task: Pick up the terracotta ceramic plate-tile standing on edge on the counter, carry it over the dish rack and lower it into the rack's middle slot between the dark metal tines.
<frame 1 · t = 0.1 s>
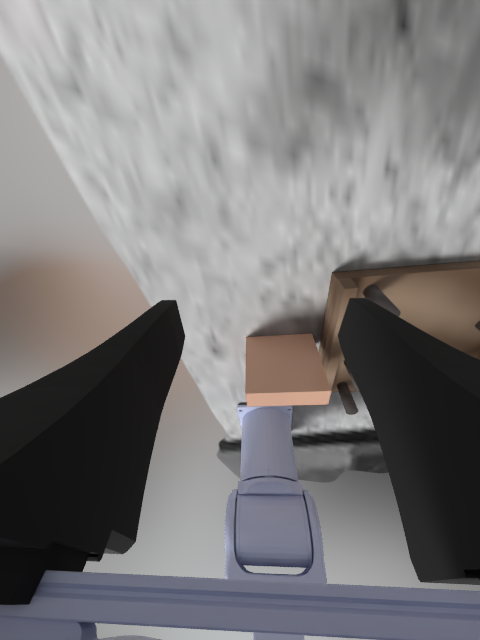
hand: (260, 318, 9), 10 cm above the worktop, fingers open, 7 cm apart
plate: (278, 341, 24), on the worktop
rack: (403, 335, 23), on the worktop
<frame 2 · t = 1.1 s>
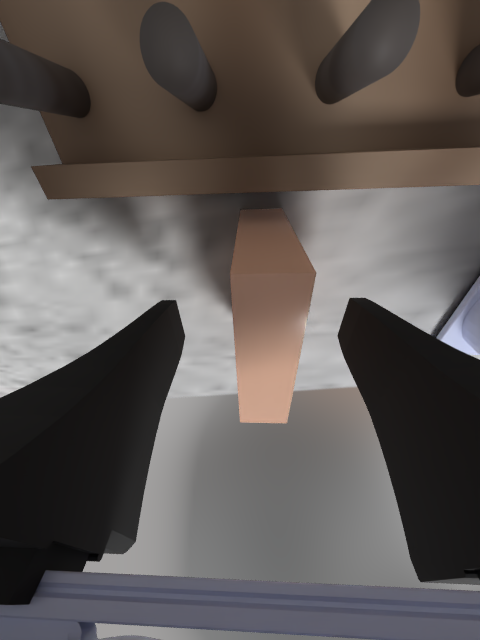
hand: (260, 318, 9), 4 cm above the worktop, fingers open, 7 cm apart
plate: (259, 274, 13), on the worktop
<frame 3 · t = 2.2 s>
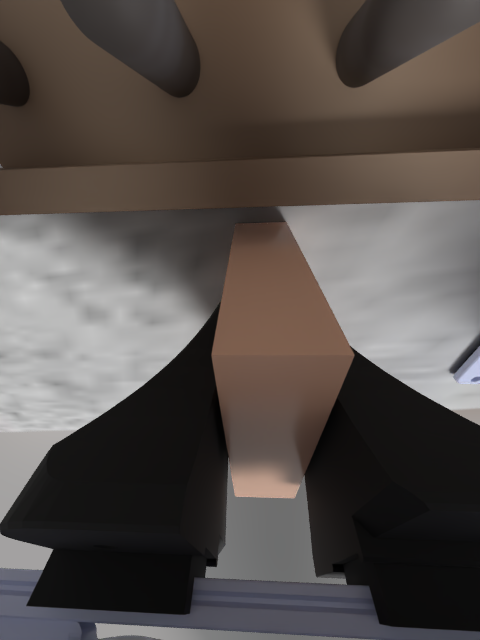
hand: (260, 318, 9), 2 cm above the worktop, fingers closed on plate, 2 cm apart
plate: (259, 298, 11), on the worktop, touching gripper
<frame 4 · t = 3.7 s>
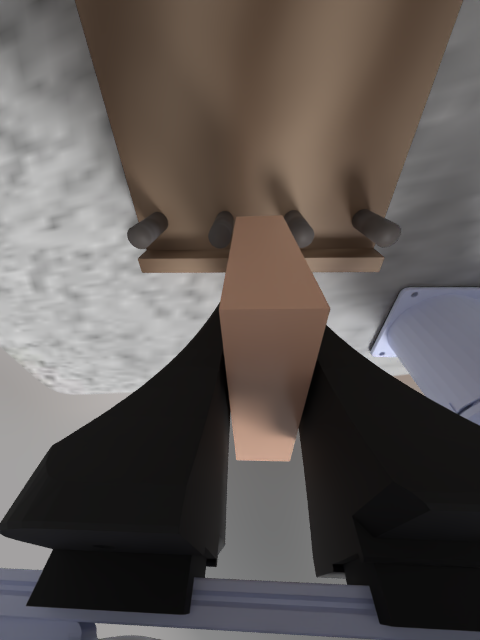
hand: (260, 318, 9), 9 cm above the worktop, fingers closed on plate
plate: (258, 287, 12), point 6 cm above the worktop, touching gripper
rack: (261, 106, 12), on the worktop
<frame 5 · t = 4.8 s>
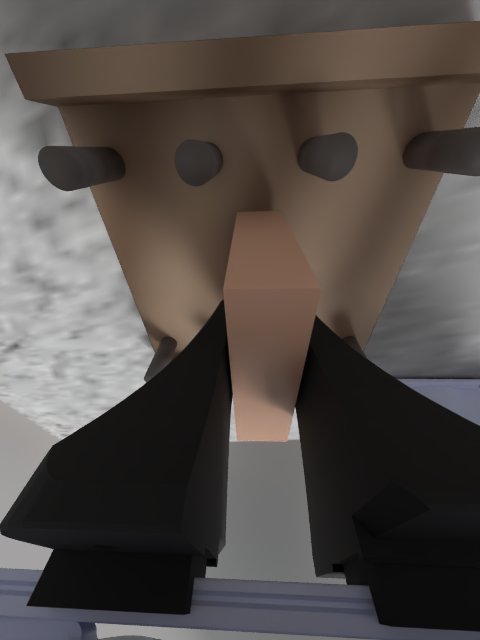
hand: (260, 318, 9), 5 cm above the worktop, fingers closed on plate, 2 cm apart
plate: (257, 280, 12), point 2 cm above the worktop, touching gripper
rack: (257, 265, 14), on the worktop
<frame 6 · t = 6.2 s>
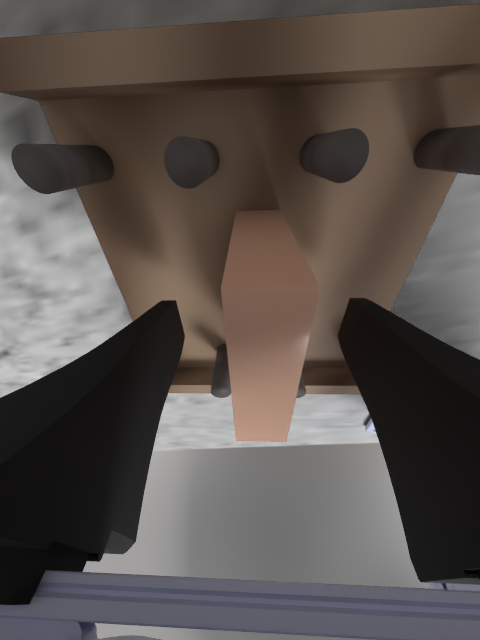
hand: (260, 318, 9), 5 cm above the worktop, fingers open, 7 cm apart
plate: (256, 279, 12), point 1 cm above the worktop, touching rack
rack: (256, 271, 13), on the worktop
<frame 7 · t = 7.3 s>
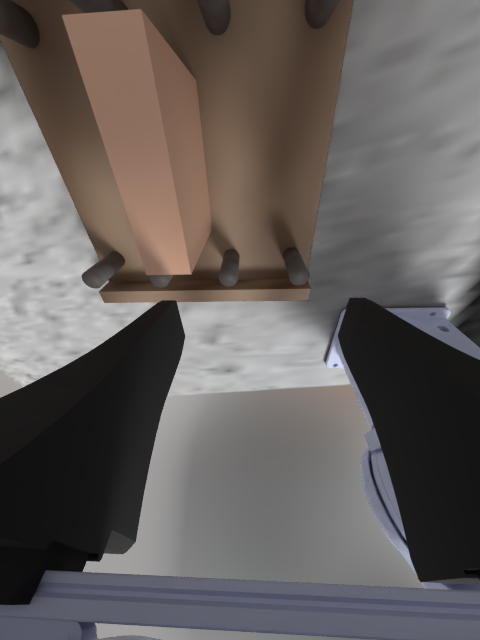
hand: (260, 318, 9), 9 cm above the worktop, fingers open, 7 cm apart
plate: (188, 167, 13), point 1 cm above the worktop, touching rack
rack: (193, 167, 14), on the worktop
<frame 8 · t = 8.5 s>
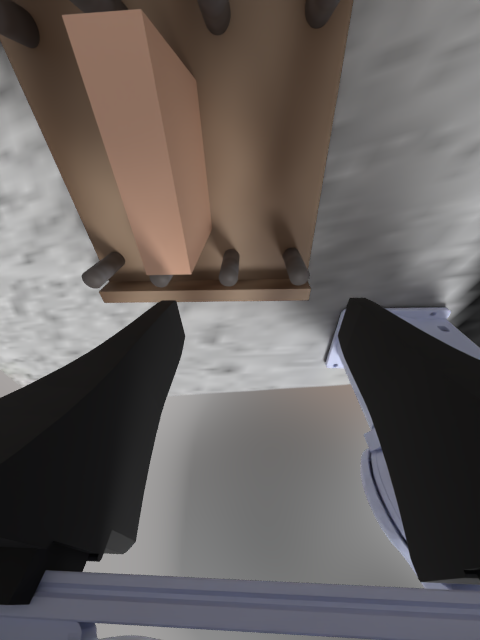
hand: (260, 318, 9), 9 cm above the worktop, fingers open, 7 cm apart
plate: (188, 167, 13), point 1 cm above the worktop, touching rack
rack: (193, 167, 14), on the worktop
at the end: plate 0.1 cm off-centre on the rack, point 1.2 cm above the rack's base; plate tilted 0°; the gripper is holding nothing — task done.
